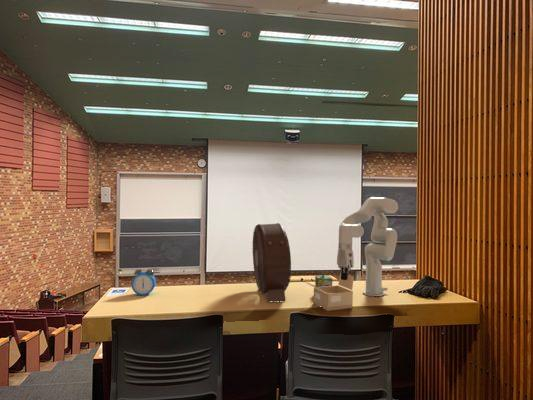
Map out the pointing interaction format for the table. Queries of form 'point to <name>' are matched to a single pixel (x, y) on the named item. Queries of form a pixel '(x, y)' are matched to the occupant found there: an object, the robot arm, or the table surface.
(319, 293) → the carton
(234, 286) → the table surface
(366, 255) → the robot arm
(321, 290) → the flap
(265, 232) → the fan
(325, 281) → the chalk box
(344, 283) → the flap
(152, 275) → the alarm clock
